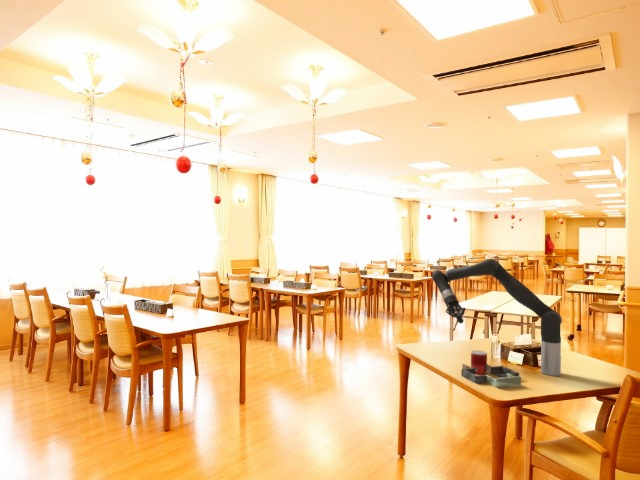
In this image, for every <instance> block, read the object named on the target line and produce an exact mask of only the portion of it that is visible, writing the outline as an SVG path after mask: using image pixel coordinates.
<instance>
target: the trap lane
mask: <svg viewBox="0 0 640 480" xmlns="http://www.w3.org/2000/svg"><path fill="white" fill-rule="evenodd" d="M461 366H462V369H461V375H460V376H461V377H463V378H464V379H466V380H469V381H470V382H473V384H477V385H479V384H489V385H490V386H493V387H494V388H496V389H504V388H506V387H507V388H514V387H521V385H522V376H520V372H518V371H515V370H513V369H511V368H508V367H506V366H504V365H497V366H492V365H491V364H488V363H487V373H490V374H491V375H494V376H495V377H497V378H495V377H493V376H491V375H488V374H484V375H477V374H475V369H474V368H472V367H471V365H470V366H469V365H467V364H465V363H462V364H461Z"/></svg>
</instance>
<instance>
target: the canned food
mask: <svg viewBox="0 0 640 480" xmlns="http://www.w3.org/2000/svg"><path fill="white" fill-rule="evenodd" d="M487 364H488V353H487V352H486V351H483V350H475V349H474V350H471V353H470V367H472V368H474V369H475V375H478V376H481V375H487V373H488V372H487Z"/></svg>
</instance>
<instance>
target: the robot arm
mask: <svg viewBox="0 0 640 480" xmlns="http://www.w3.org/2000/svg"><path fill="white" fill-rule="evenodd" d="M475 276H492V277H493V278H494V279H496V280H497V281H498V282H499V283H500V284H501V285H502V286H503V288H504V289H505V290H506V292H507V293H508V294H509V295H510V296H511V298H513V299H514V300H515V301H516V302H518V303H519V304H520V305H522V306H524V307H526V308H527V309H529V310H530V311H532V312H533V313H534V314H536V315H537V316H538V317H539V318H540V337H541V340H540V342H541V343H540V345H541V346H540V347H541V349H540V373H542V374H544V375H547V376H552V377H557V376H558V377H560V376H561V373H562V372H561V371H562V370H561V368H562V355H561V354H562V353H561V352H562V351H561V350H562V349H561V347H562V345H561V344H562V337H561V325H562V321H563V319H562V317H561V314H560V313H559V312H557V311H556V310H555V309H553V308H551V307H550V306H549V305H547V304H546V303H545V302H543V301H542V300H541V299H540V298H539V297H538V296H537V295H536V294H535V293H534V292H532V291H531V290H530V288H528V287H527V286H526V285H524V283H522V282H521V281H520V280H518V279H517V278H516V277H514V276H513V275H512V274H511V273H509V272H508V271H507V270H506V269H505V268H504V267H503V265H501V264H500V262H499V261H497V260H496V259H494V258H488V259H485V260H483V261H480V262H478V263H476V264H472V265H468V266H467V265H466V266H458V267H454V268H450V269H448V270H447V271H446V272H445V273H444V272H443V271H442V270H439V269H436V270H434V271H433V272H432V274H431V278H432V281H433V282H434V284H435V285H436V286H437V289H438V290H439V292H440V294H441V297H442V300H443V302H444V304H445V306H446V309H445V313H446V314H448V315H449V316H450V317H452V318H455V319H456V320H457V322H458V323H459V324H463V323H464V321H465V320H464V318H463V316H464V315H465V312H466V307H462V306H461V305H460V303H459V302H460V301H459V299H458V298H457V296H456V294H455V292H454V290H453V289H452V286H451V285H450V282H452V281H455V280H461V279H466V278H469V277H475Z"/></svg>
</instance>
